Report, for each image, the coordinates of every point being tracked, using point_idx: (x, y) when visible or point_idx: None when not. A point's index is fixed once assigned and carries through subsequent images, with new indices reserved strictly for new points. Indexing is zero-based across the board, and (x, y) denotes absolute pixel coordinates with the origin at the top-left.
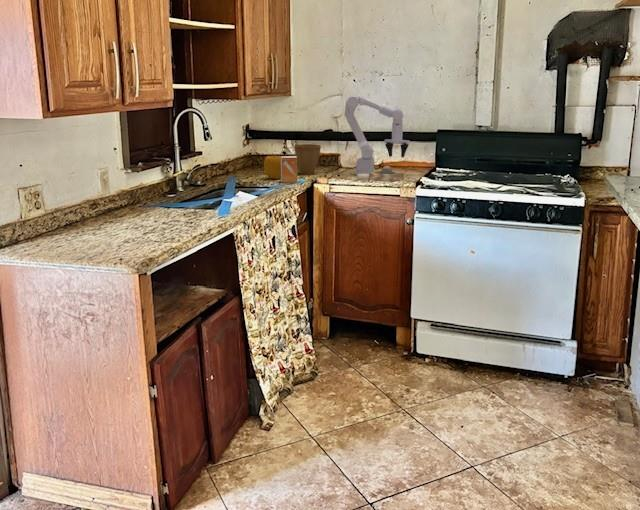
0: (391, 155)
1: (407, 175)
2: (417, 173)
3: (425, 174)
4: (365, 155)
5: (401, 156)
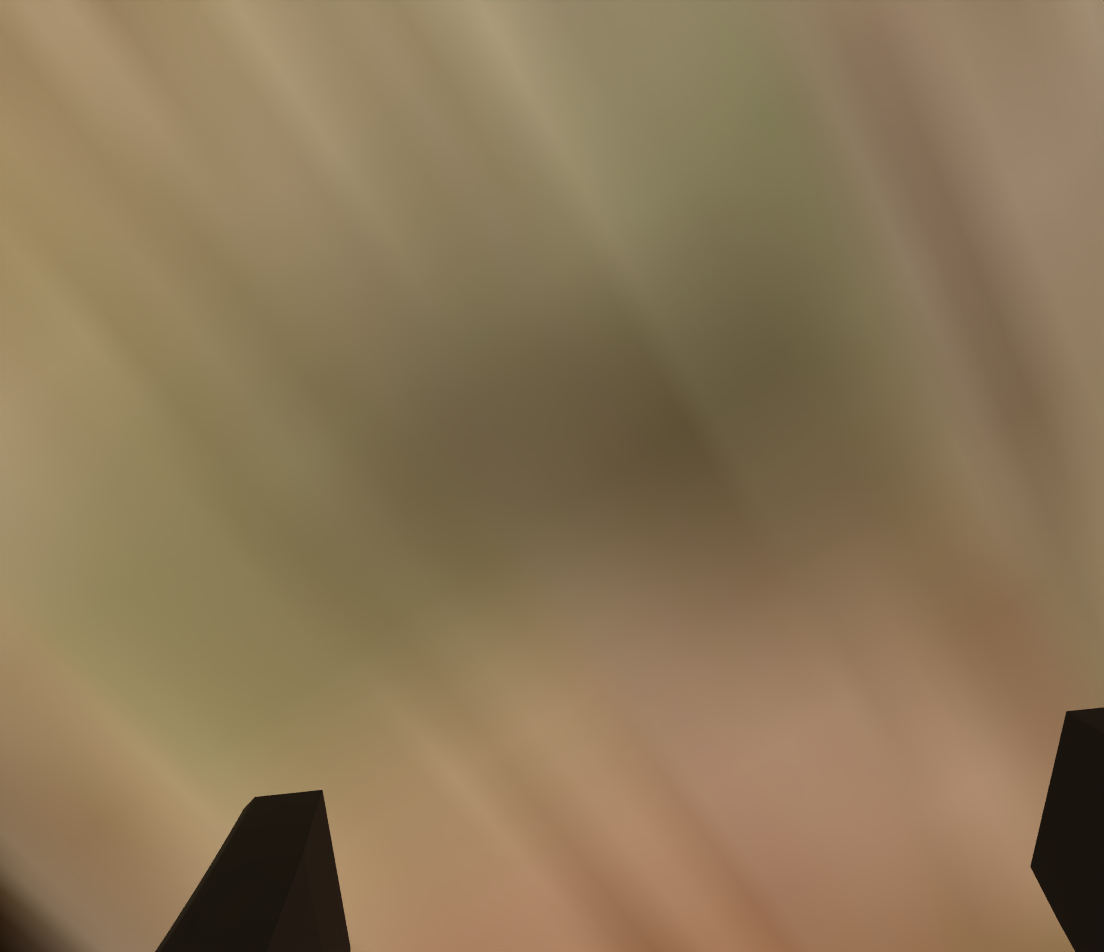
0: (1069, 870)
1: (247, 535)
2: None
3: (19, 910)
4: None
5: (296, 824)
